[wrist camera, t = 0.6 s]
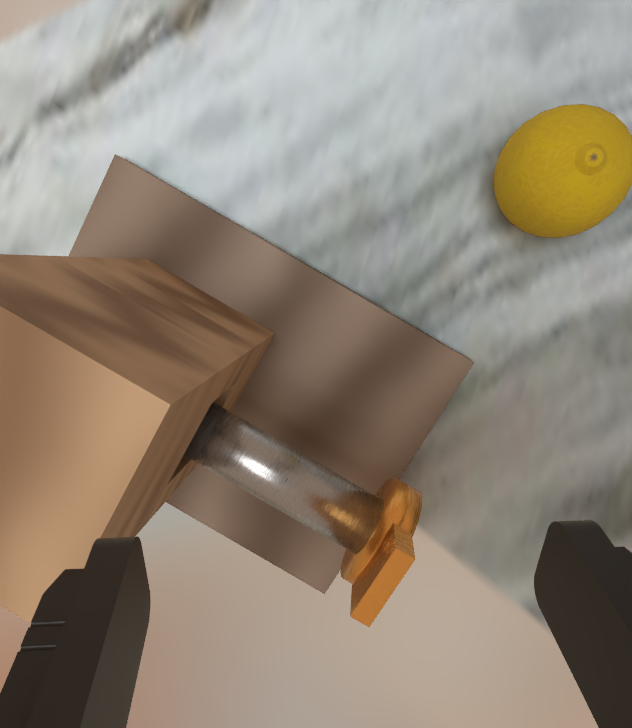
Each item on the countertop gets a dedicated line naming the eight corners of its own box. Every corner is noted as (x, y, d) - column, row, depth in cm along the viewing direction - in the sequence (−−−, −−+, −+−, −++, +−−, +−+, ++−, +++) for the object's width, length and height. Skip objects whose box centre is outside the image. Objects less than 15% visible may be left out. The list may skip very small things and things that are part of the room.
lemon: (533, 107, 28) (596, 45, 20) (613, 180, 28) (705, 147, 21) (456, 193, 29) (488, 166, 21) (534, 263, 29) (593, 262, 22)
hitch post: (470, 359, 31) (590, 472, 14) (326, 582, 34) (280, 896, 17) (124, 158, 31) (-179, 26, 14) (13, 401, 34) (-345, 535, 17)
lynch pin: (417, 475, 26) (432, 544, 20) (364, 555, 27) (362, 646, 21) (186, 341, 26) (125, 366, 20) (142, 426, 27) (70, 476, 21)
